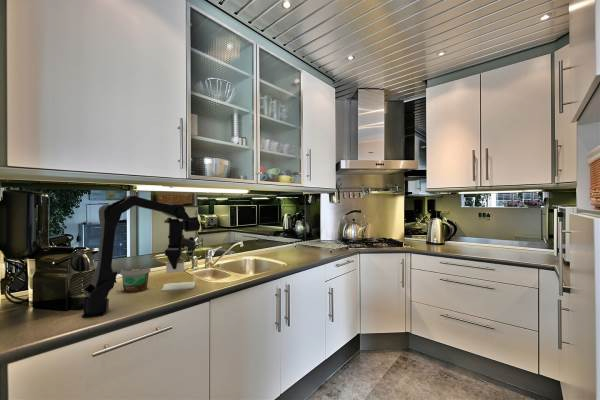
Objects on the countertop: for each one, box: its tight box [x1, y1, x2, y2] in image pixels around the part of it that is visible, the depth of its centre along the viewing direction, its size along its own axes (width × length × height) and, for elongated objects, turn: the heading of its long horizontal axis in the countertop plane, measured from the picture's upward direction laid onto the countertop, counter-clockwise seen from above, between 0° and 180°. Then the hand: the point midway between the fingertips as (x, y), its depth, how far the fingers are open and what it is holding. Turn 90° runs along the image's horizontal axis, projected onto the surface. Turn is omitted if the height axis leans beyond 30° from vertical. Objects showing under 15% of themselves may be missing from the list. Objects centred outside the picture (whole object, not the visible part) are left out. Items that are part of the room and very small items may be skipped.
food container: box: [119, 267, 151, 294], centre depth 125 cm, size 12×6×10 cm, turn 105°
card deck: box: [165, 260, 185, 274], centre depth 122 cm, size 5×7×4 cm
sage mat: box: [161, 281, 196, 292], centre depth 132 cm, size 14×10×1 cm
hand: (175, 267), depth 122 cm, fingers closed on card deck, 5 cm apart
